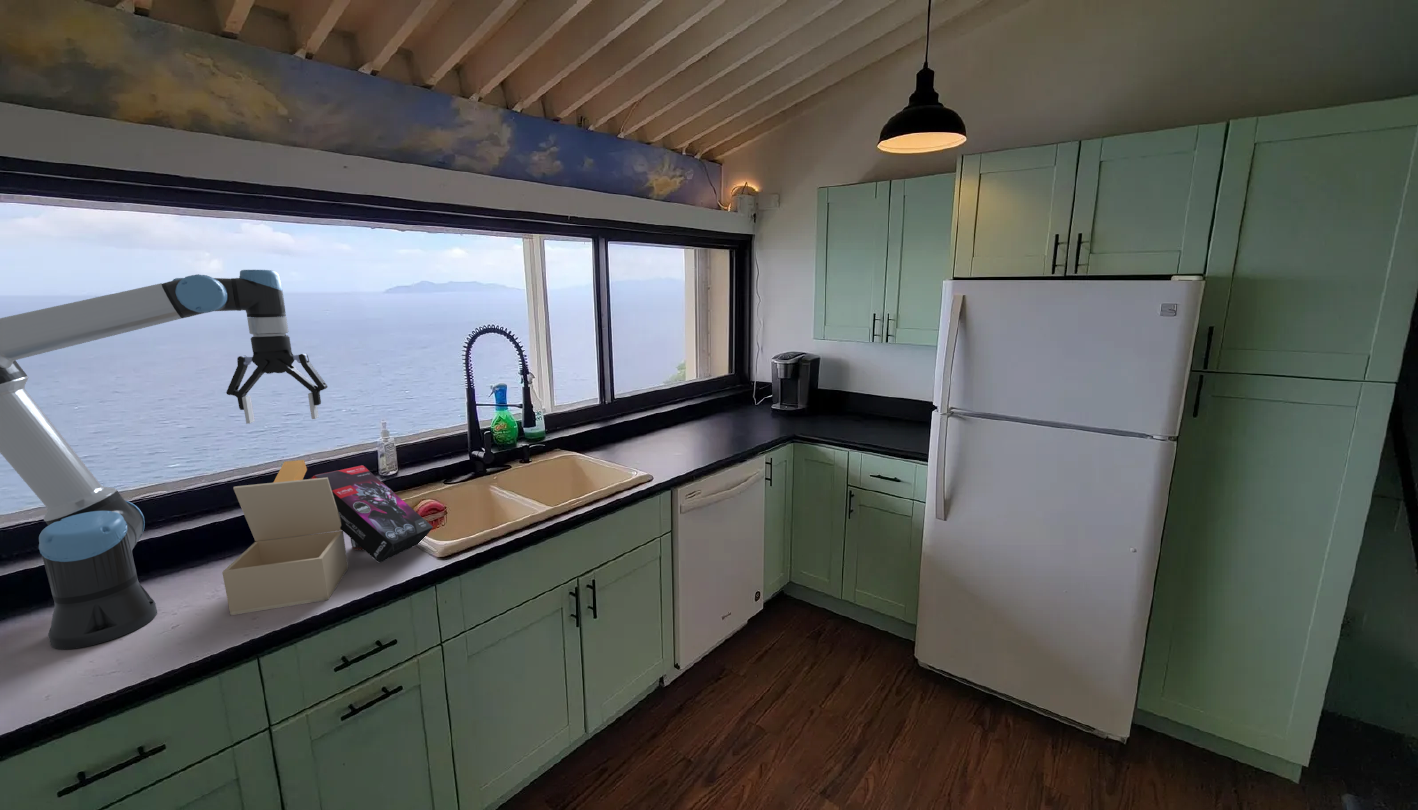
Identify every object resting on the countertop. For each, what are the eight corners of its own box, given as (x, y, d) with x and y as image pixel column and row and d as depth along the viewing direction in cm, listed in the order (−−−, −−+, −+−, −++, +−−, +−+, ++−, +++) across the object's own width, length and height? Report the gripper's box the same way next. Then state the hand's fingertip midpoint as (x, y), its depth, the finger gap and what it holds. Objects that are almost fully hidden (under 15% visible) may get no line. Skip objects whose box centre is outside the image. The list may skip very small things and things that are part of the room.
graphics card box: (392, 545, 135) (313, 471, 137) (376, 566, 136) (297, 492, 137) (435, 527, 152) (364, 462, 154) (420, 546, 153) (349, 480, 154)
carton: (230, 615, 119) (222, 572, 117) (262, 580, 134) (255, 541, 132) (328, 599, 124) (321, 558, 123) (348, 568, 139) (342, 530, 137)
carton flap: (233, 488, 124) (248, 462, 132) (255, 541, 132) (268, 514, 140) (327, 478, 129) (336, 455, 137) (342, 530, 137) (351, 505, 145)
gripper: (333, 332, 143) (345, 413, 147) (214, 335, 135) (229, 421, 139) (324, 334, 136) (336, 419, 140) (198, 337, 128) (214, 427, 132)
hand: (283, 420), depth 139 cm, fingers open, 13 cm apart
